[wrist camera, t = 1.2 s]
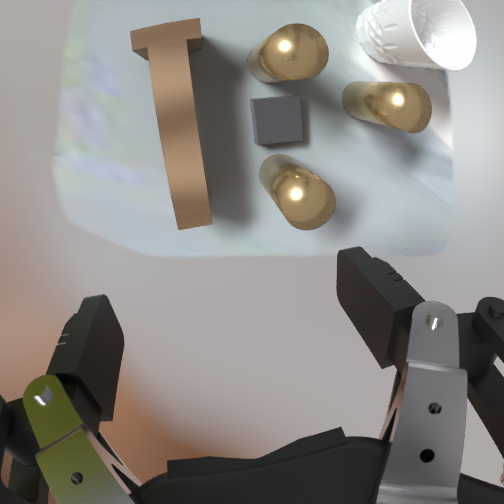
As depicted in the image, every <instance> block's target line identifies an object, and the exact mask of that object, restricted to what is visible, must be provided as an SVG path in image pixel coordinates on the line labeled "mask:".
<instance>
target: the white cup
mask: <svg viewBox="0 0 504 504" xmlns="http://www.w3.org/2000/svg"><path fill="white" fill-rule="evenodd" d="M356 33H357V37H358V40H359V43H360V45H361V46H362V47H363V49H364V50H365V52H366V53H367V54H368V55H369V56H371V57H372V58H374V59H375V60H376V61H378V62H381V63H387V64H396V65H401V66H411V67H421V68H432V69H441V70H449V71H460V70H463V69H465V68H466V67H468V66H469V65H470V64H471V62H472V60H473V59H474V56H475V53H476V47H477V38H476V31H475V27H474V24H473V21H472V18H471V16H470V14H469V12H468V10H467V9H466V7H465V5H464V4H463V3H462V1H461V0H381V1H380V2H378V3H376V4H375V5H373V6H370V7H368V8H366V9H365V10H364V11H363V12H362V13H361V14H360V15H359V16H358V19H357V24H356Z"/></svg>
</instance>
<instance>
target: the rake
mask: <svg viewBox="0 0 504 504" xmlns="http://www.w3.org/2000/svg"><path fill="white" fill-rule="evenodd" d="M130 33H131V43H132V51H134V52H135V53H137V54H138V55H140V56H141V57H143V58H144V59H148V58H149V66H150V73H151V81H152V88H153V95H154V102H155V108H156V115H157V121H158V127H159V133H160V139H161V145H162V151H163V156H164V162H165V167H166V172H167V178H168V183H169V188H170V193H171V198H172V203H173V207H174V212H175V217H176V222H177V226H178V230H182V229H188V228H194V227H199V226H205V225H211V224H213V223H212V216H211V209H210V202H209V195H208V189H207V184H206V178H205V172H204V165H203V159H202V152H201V145H200V138H199V131H198V124H197V117H196V110H195V103H194V95H193V88H192V80H191V72H190V64H189V56H188V51H190V50H197V49H201V40H202V35H201V26H200V18H196V19H189V20H182V21H176V22H171V23H165V24H160V25H155V26H150V27H146V28H141V29H137V30H133V31H130Z"/></svg>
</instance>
